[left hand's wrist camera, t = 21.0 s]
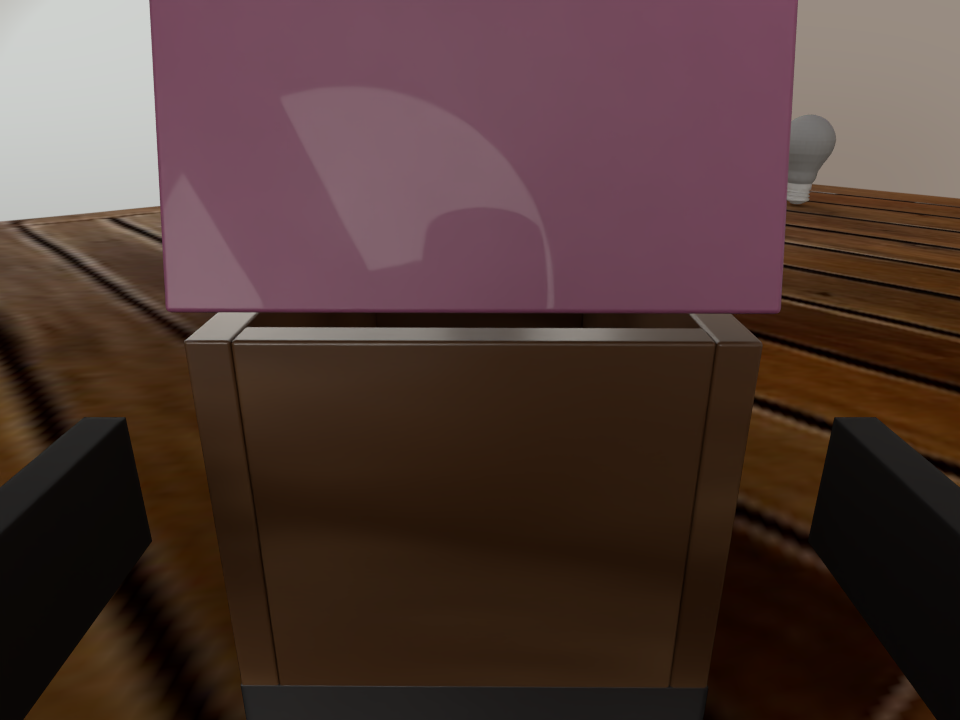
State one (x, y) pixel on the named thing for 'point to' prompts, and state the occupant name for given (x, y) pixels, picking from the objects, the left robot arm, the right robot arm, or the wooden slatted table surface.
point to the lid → (473, 155)
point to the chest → (473, 508)
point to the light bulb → (807, 154)
